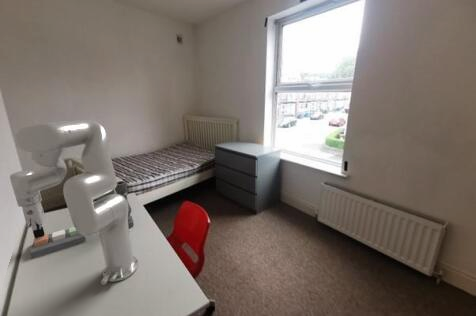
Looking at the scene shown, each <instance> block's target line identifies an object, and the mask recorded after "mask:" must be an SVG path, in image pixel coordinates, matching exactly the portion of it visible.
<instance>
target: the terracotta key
mask: <svg viewBox="0 0 476 316" xmlns="http://www.w3.org/2000/svg"><path fill="white" fill-rule="evenodd" d="M48 235H49V234H48V233H47V234H45V235H44V236H43V237H40V238H36V239H35V238H34V239H33V241H34V246H35V247H38V246H42V245H45V244H48V243H49V237H48Z"/></svg>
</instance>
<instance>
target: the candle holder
mask: <svg viewBox="0 0 476 316" xmlns="http://www.w3.org/2000/svg"><path fill="white" fill-rule="evenodd" d="M127 190H128V182H127V180H121V181H120V180H119V181H117V186H116V188H115V189H114V191H115V193H116V194H117V193H118V194H119V195H122V196H123V197H125V199H126V200H127V202H128V226H129V230H130V229H132V228H133V227H134V226H135V225H134V224H135V223H134V219H133V216H131V212H132V208H131V205H130V202H129V201H128V193H129V192H128V191H127Z"/></svg>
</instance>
